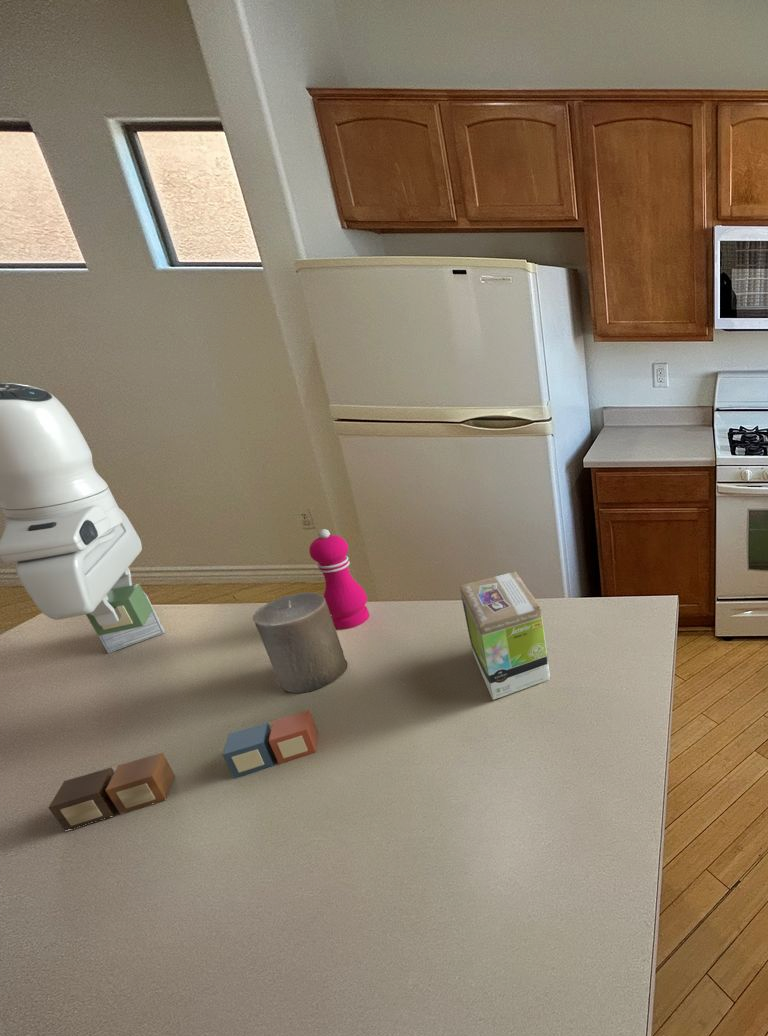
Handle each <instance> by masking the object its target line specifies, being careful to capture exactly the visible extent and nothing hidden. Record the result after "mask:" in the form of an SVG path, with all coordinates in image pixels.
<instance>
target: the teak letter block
mask: <svg viewBox="0 0 768 1036" xmlns="http://www.w3.org/2000/svg"><path fill="white" fill-rule="evenodd" d="M175 778H176V774H175V772H174V771H173V769H172V767H171V764H169V762H168V759H167V758H166V756H165V754H164V752H159V753H156V754H153V755H149V756H146V757H142V758H139V759H135V760H132V761H129V762H126V763H122V764H119V765H117V766H116V769H115V771H114V774H113V776H112V778H111V780H110V782H109V784H108V786H107V788H106V790H105V791H106V792H107V794H108V795H109V797H110V799H111V800H112V802H113V803H114V805H115V806H116V808H117V811H118V813H119V814H120V815H123V814H122V813H124V812H127V811H130V812H132V811H131V810H133V811H136V810H139V809H138V808H140V809H142V808H141V807H143V808H145V807H144V806H146V807H148V806H147V805H149V806H151V805H150V804H152V803H155V804H158V803H161V802H163V801H162V800H164V801H166V800H167V799H166V797H167V798H168V796H169V794H168V792H169V793H170V791H169V790H171V788H172V786H173V783H174V781H175ZM167 795H168V796H167ZM165 799H166V800H165ZM160 801H161V802H160ZM157 802H158V803H157ZM152 805H153V804H152ZM135 809H136V810H135ZM127 813H128V812H127ZM124 814H125V813H124Z"/></svg>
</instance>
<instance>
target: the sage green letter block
mask: <svg viewBox="0 0 768 1036" xmlns="http://www.w3.org/2000/svg"><path fill="white" fill-rule="evenodd" d="M143 591H144V590H143V588H142V586H141V584H140V583H136V584H132V585H130V586H125V587H120V588H115V589H111V590H110V591H109V592H108V593H107V596H108V598H109V599H108V601H107V602H108V603H109V604H110V605H111V606H112V607H117V608H118V610H119V613H120V614H121V618H120V619H119V621H118V622H117V623H116V624H113V625H108V626H100V625H99V624H98V622H97V621H96V619H95V617H94V616H92V615H91V614H85V616H86V615H87V616H86V617H87V619H88V618H89V619H88V621H89V620H90V621H89V623H90V622H91V623H90V624H91V626H92V625H93V626H92V628H93V627H94V628H93V630H94V629H95V630H96V632H97V633H96V632H95V633H96V635H97V634H98V635H97V637H98V636H101V635H105V634H110V633H114V632H119V631H123V630H128V629H132V628H137V627H141V626H144V624H145V623H146V621H147V619H148V618H149V616H150V614H151V613H152V611H153V609H154V608H153V609H152V607H153V606H152V607H151V605H152V604H151V605H150V603H151V602H150V603H149V602H148V600H147V598H146V596H145V594H146V593H145V591H144V592H143ZM144 593H145V594H144ZM95 630H94V631H95Z"/></svg>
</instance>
